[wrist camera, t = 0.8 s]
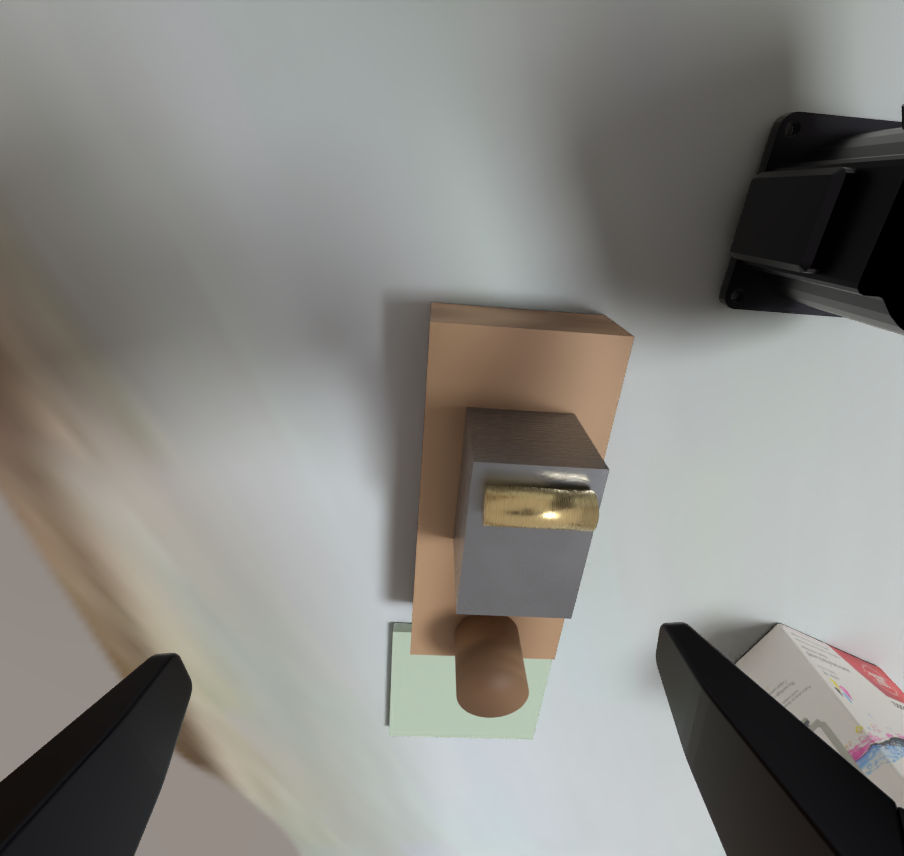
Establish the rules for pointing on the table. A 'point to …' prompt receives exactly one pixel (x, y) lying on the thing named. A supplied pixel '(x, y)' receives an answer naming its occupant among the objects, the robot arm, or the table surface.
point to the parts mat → (451, 697)
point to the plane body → (447, 395)
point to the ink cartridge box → (836, 701)
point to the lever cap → (524, 512)
